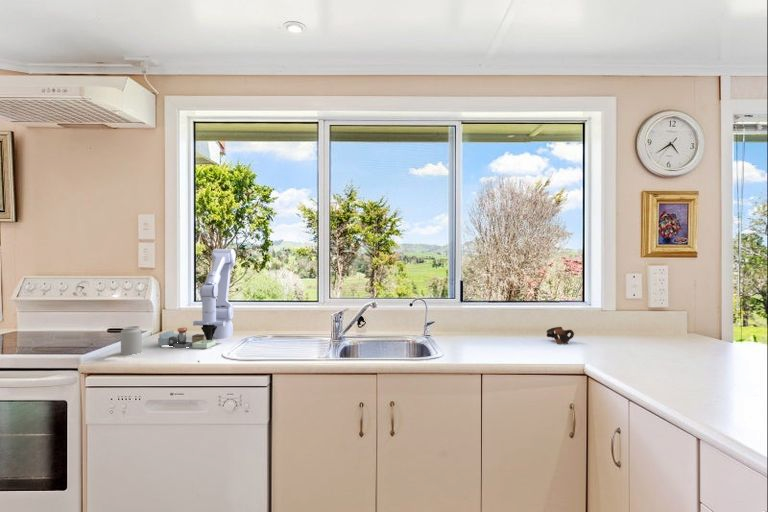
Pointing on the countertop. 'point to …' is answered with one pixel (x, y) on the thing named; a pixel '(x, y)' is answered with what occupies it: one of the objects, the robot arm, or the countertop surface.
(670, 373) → the countertop surface
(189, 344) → the ramp board
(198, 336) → the wooden cube
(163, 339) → the trolley
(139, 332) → the can
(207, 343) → the tray
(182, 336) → the pin
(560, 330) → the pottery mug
